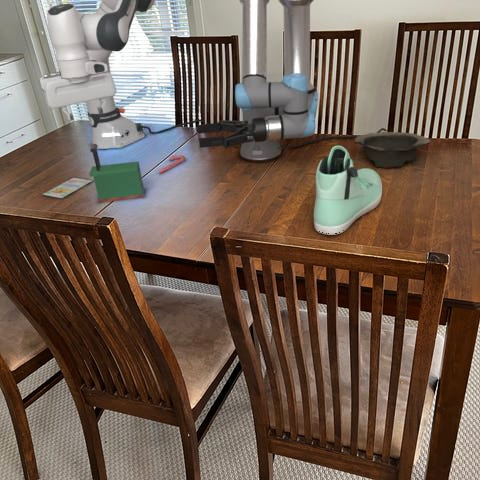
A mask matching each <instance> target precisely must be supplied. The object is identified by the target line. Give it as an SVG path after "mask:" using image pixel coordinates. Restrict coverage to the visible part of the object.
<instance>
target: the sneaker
mask: <svg viewBox="0 0 480 480" xmlns="http://www.w3.org/2000/svg"><path fill="white" fill-rule="evenodd" d="M317 165H318V166H317V168H316V172H315V201H314V207H313V225H314V229H315V231H316V232H318V233H320V234H323V235H326V236H327V235H328V236H336V235H339V234H342V233H344V232H345V231H347V230H348V229H349V228H350V227H351V226H352V225H353V224H354V222H356V221H357V220H358V219H359V218H360V217H362V216H363V215H365V214H367V213H370V212H372V210H374V209H375V208H377V207H378V205H380V203H381V200H382V196H383V184H382V183H383V182H382V179H381V176H380V175H379V173H378V172H377V171H376V170H374V169H372V168H367V167H365V168H358V169H357V168H355V167H354V161H353V159H352V158H351V156H350V153H349V152H348V150H347V148H345V147H344V146H342V145H334V146H333V147H331V149H330V151H329V154H327V155H326V156H325V157H324V158H322V159H321V160H320V161H319V163H318V164H317ZM343 230H344V231H343ZM319 231H320V232H319ZM322 232H323V233H322ZM339 232H340V233H339ZM326 233H327V234H326ZM328 233H329V234H328ZM335 233H337V234H335Z"/></svg>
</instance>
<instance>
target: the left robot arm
mask: <svg viewBox="0 0 480 480" xmlns="http://www.w3.org/2000/svg"><path fill="white" fill-rule="evenodd" d="M155 3H156V0H101V2H100V4H99V5H98V8H97V9H96V12H95V13H90V14H89V13H87V14H85V13H82V12H80V11H78V10H77V8H76V6H75V5H74V4H71V3H61V4H57V5H54V6H52V7H50V8H49V9H48V10H47V13H46V19H47V28H48V33H49V37H50V41H51V44H52V46H53V48H54V51H55V60H56V64H57V69H58V71H55V72H51V73H45V74H43V76H41V77H40V79H39V85H40V88H41V90H42V91H43V96H44V102H45V105H46V106H47V107H48V108H49V109H52V110H53V109H59V108H60V111H62V112H63V113H64V114H65V116H66V119H67V121H68V122H73V121H75V118H74V115H73V113H72V112H70V113H69V112H68V111H67V110H68V106H73V105H77V104H82V103H85V104H86V109H87V118H88V122H89V125H90V127H91V128H90V129H91V137H92V138H91V140H92V141H91V146H92V145H93V144H97V146H98V147H97V149H98V150H107V149H121V148H122V149H123V148H124V147H127V146H128V145H131V144H132V143H135V142H137V141H139V140H141V139H143V138H145V137H146V135H145V133H144V129H147V130H148V132H149V134H151V135H157V134H161V133H164V132H169V131H171V130H173V129H175V128H179V127H183V126H187V125H191V124H195V123H199V122H200V123H203V124H205V120H203V119H199V118H197V119H195V120H191V121H187V122H184V123H178V124H175V125H173V126H170V127H168V128H163V129H161V130H158V131H152V129H151V128H150V127H149V126H148V125H142V124H141V123H140V122H139V123H135V122H134V121H133V120H131V119H129V118H127V117H125V116H123V115H122V114H125V112H126V109H125V108H124V107H123V108H122V107H117V106H116V103H115V97H114V96H115V95H116V93H117V88H116V84H115V80H114V78H113V75H112V74H111V67H110V66H111V65H110V60H109V59H110V57H111V55H112V53H113V52H121V51H122V50H123V49H124V48H125V47H126V46H127V44H128V42H129V39H130V29H131V26H132V23H133V21H134V18H135V15H136V13H137V12H138V13H146V12H148V11H149V10H151V8H153V6H154V5H155Z"/></svg>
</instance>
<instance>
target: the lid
mask: <svg viewBox="0 0 480 480" xmlns="http://www.w3.org/2000/svg"><path fill="white" fill-rule="evenodd" d="M97 147H98V146H97V144H93V145H92V144H91V147H90V150H89V151H90V152H91V153H92V156H93V159H94V164H95V165H93V166H91V169H90V172H89V177H93V176H99V175H109V174H118V173H127V172H136V171H138V168H139V166H140V161H139V160H138V161H130V162H119V163H110V164H103V165H101V162H100V157H99V153H98V150H97Z"/></svg>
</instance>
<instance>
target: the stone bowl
mask: <svg viewBox="0 0 480 480" xmlns="http://www.w3.org/2000/svg"><path fill="white" fill-rule="evenodd" d="M359 135H360V136H358V137H354V144H357V145H359V146H362V147H363V153H364V155H366V157H367V158H368V160H371V161H373V165H374V167H376V168H382V169H383V168H384V169H386V168H387V169H389V168H393V167H396V168H398V167H402V166H404V165H405V164H406V162H414V161H415V160H416V157H417V151H418V148H421V147H424V146H426V145H428V144H430V143H431V140H430V139H429V138H427V137H425V136H423V135H420V134H417V133H416V134H415V133H413V132H400V131H399V132H398V131H381V132H379V133H377V132H369V133H365V134H359Z"/></svg>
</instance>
